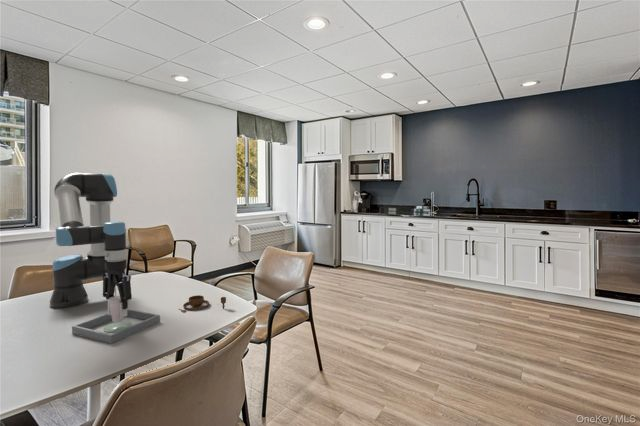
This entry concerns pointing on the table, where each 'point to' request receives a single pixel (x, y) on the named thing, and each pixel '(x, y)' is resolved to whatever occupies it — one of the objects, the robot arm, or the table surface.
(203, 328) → the table surface
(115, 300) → the smoothie
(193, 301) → the place setting
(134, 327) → the grey square frame
